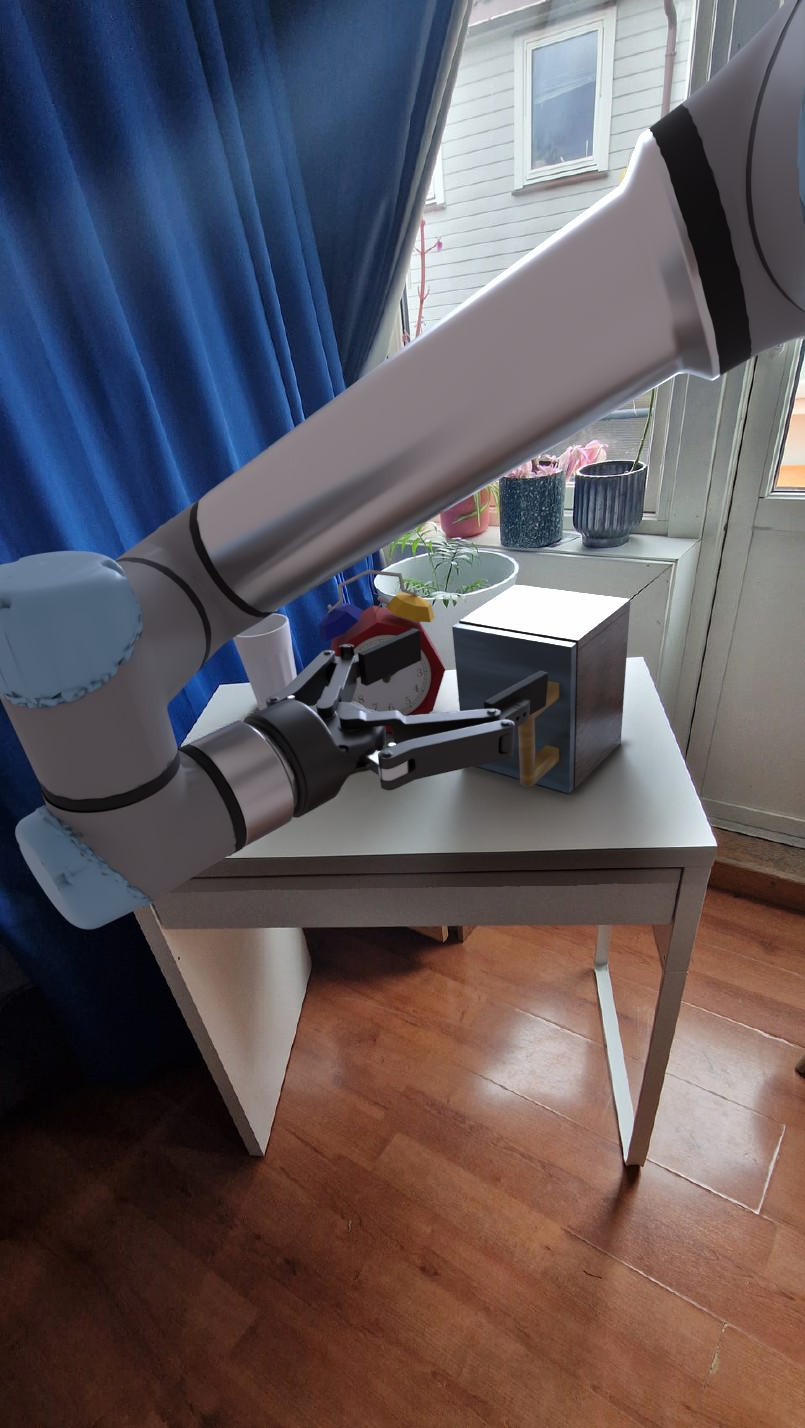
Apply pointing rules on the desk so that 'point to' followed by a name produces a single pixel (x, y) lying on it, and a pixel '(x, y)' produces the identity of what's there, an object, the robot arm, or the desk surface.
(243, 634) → the cup
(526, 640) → the door
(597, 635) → the cupboard
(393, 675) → the alarm clock
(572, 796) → the desk surface
